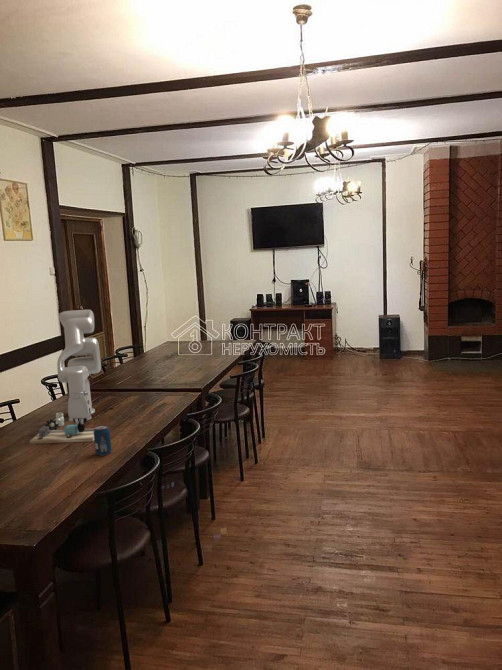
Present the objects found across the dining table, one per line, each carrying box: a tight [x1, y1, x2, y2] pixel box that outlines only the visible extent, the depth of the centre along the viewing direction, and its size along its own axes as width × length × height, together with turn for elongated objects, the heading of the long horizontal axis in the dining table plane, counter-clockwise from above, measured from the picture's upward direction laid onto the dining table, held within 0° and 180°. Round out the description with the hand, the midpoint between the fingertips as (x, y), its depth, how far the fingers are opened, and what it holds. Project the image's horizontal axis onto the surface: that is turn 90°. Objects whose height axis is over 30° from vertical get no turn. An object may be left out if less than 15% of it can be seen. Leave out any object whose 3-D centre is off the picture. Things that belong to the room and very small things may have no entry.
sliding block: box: [63, 424, 79, 437], centre depth 259 cm, size 8×5×4 cm, turn 179°
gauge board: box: [29, 425, 95, 445], centre depth 260 cm, size 12×30×5 cm, turn 89°
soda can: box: [93, 424, 112, 456], centre depth 237 cm, size 7×7×12 cm
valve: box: [44, 412, 65, 430], centre depth 276 cm, size 7×7×12 cm
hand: (81, 431), depth 261 cm, fingers closed
